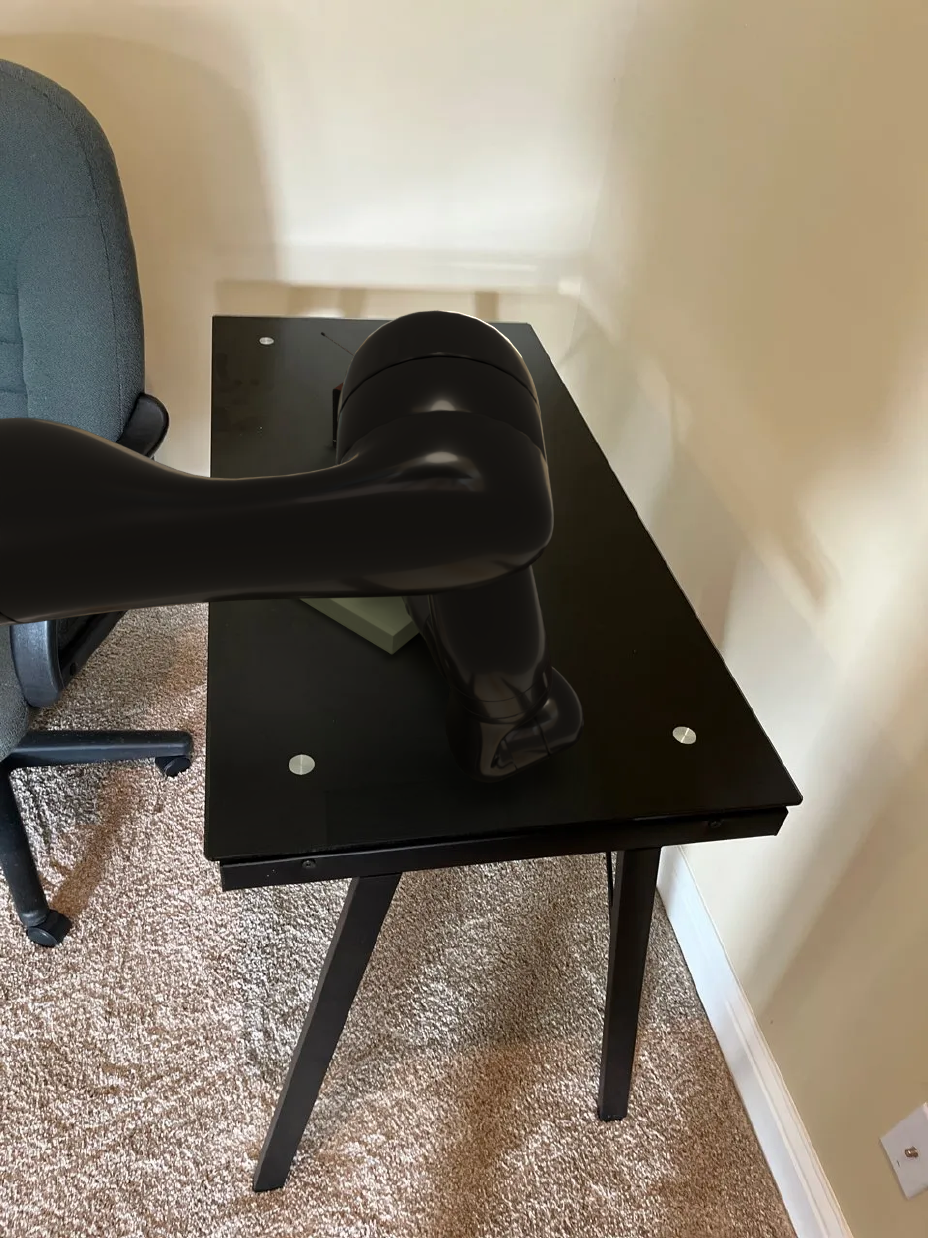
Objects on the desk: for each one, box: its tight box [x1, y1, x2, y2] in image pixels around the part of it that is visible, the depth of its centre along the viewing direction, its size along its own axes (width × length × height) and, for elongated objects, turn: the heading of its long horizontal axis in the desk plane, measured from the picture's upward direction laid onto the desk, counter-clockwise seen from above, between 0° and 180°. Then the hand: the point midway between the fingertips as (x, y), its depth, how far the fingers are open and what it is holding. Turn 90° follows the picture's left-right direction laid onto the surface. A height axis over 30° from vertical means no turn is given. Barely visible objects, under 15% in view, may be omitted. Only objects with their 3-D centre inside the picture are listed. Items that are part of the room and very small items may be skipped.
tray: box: [299, 597, 420, 655], centre depth 90 cm, size 20×16×3 cm
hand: (390, 490), depth 86 cm, fingers closed on milkshake, 4 cm apart
